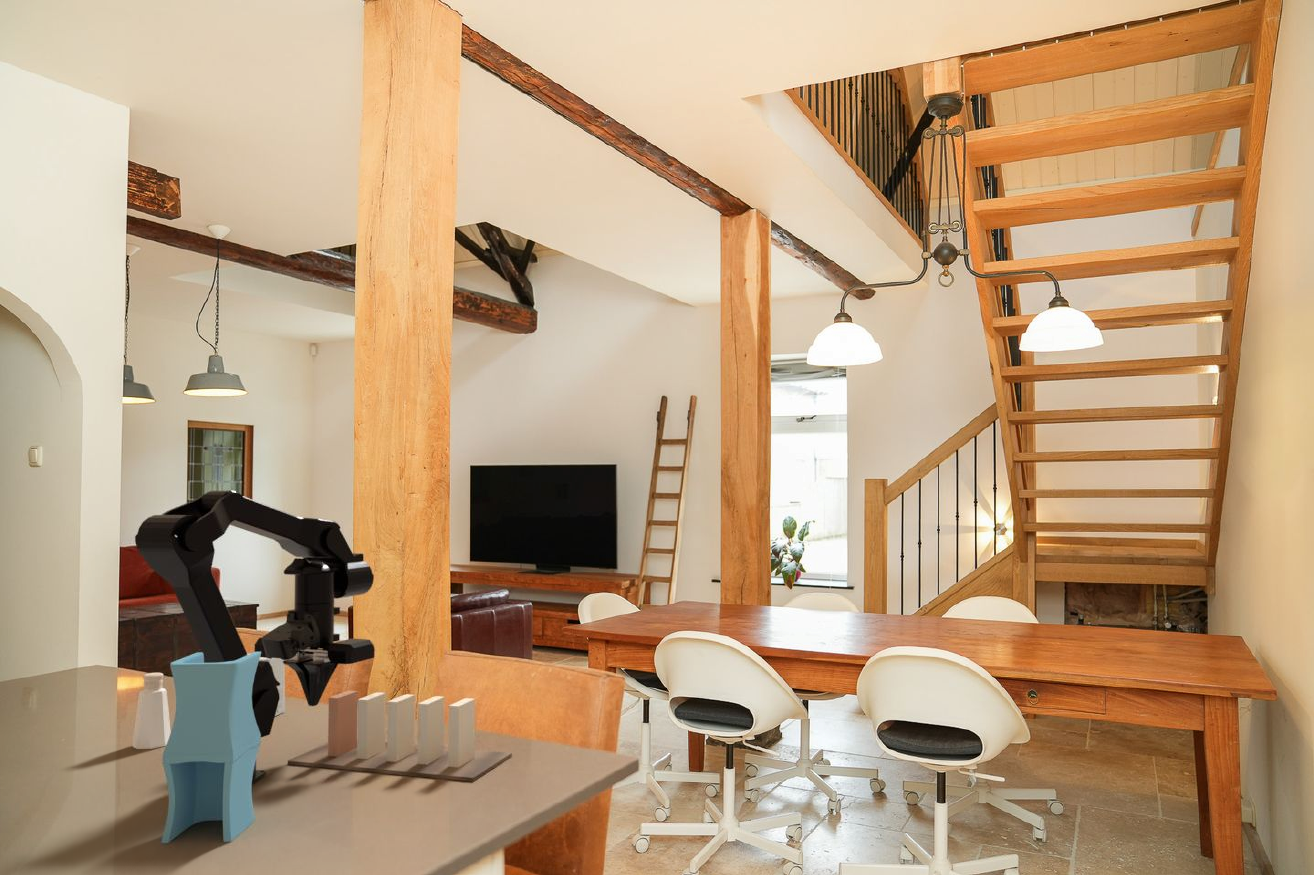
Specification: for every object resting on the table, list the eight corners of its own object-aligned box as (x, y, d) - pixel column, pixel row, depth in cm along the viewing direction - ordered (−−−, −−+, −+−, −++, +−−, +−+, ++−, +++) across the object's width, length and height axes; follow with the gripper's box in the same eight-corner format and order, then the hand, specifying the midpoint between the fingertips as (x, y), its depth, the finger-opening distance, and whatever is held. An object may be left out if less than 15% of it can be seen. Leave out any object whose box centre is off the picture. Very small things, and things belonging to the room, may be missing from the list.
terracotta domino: (356, 747, 138) (357, 691, 138) (337, 756, 133) (337, 698, 134) (347, 746, 138) (348, 690, 139) (328, 755, 134) (328, 697, 134)
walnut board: (511, 756, 135) (511, 752, 135) (473, 781, 123) (473, 777, 123) (338, 741, 143) (338, 738, 143) (287, 764, 132) (287, 760, 132)
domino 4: (474, 757, 132) (475, 698, 133) (458, 767, 128) (458, 706, 128) (465, 756, 133) (465, 698, 133) (448, 766, 128) (448, 705, 129)
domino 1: (385, 749, 137) (385, 692, 137) (366, 759, 132) (367, 700, 132) (376, 749, 137) (376, 692, 137) (357, 758, 132) (357, 699, 133)
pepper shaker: (153, 738, 146) (155, 669, 146) (179, 741, 144) (180, 671, 144) (123, 748, 140) (125, 676, 141) (150, 751, 139) (151, 678, 139)
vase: (259, 816, 111) (262, 651, 112) (231, 841, 103) (234, 663, 104) (194, 817, 110) (197, 652, 111) (160, 843, 102) (164, 664, 103)
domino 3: (444, 754, 134) (444, 696, 134) (427, 764, 129) (427, 704, 130) (434, 754, 134) (435, 696, 135) (417, 763, 130) (417, 703, 130)
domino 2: (414, 752, 135) (414, 694, 136) (396, 761, 131) (397, 702, 131) (405, 751, 136) (405, 694, 136) (386, 760, 131) (387, 701, 131)
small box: (285, 712, 162) (286, 653, 163) (269, 720, 157) (270, 659, 157) (243, 711, 163) (244, 652, 164) (225, 719, 158) (226, 658, 158)
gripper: (226, 606, 135) (224, 712, 134) (324, 611, 128) (323, 724, 127) (282, 597, 145) (281, 696, 144) (377, 602, 138) (376, 706, 137)
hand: (313, 705), depth 138 cm, fingers closed
